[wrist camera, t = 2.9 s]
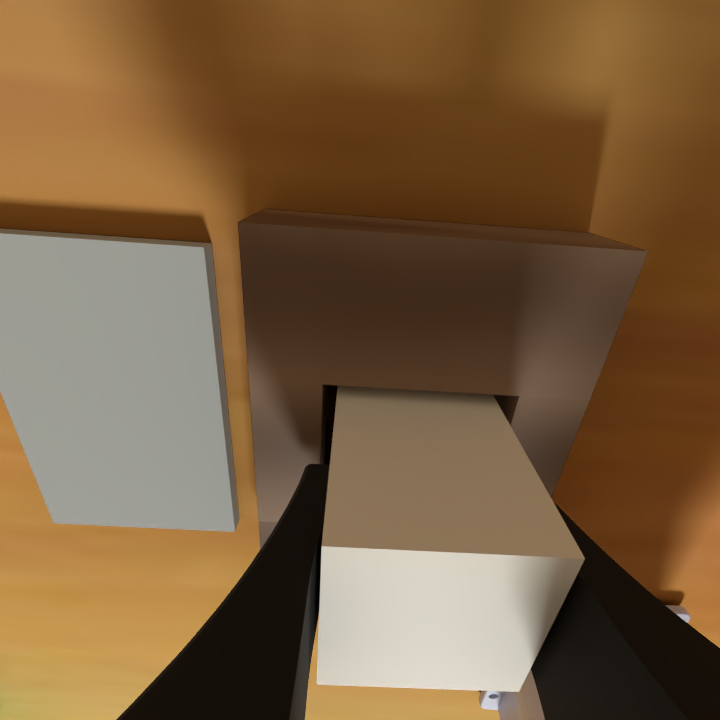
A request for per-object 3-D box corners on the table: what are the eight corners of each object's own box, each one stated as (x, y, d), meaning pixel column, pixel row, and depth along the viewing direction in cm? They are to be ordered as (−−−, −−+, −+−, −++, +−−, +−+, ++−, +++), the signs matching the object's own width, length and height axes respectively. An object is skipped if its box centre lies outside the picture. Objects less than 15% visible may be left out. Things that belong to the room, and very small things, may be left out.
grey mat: (239, 519, 16) (235, 531, 16) (63, 510, 16) (53, 523, 15) (211, 243, 11) (203, 247, 11) (-45, 225, 11) (-67, 228, 10)
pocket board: (488, 548, 17) (507, 607, 15) (276, 537, 17) (263, 596, 14) (589, 232, 11) (648, 251, 9) (263, 208, 11) (238, 222, 8)
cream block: (452, 467, 15) (518, 692, 9) (335, 461, 15) (317, 684, 8) (475, 364, 13) (585, 558, 7) (340, 355, 13) (321, 546, 6)
